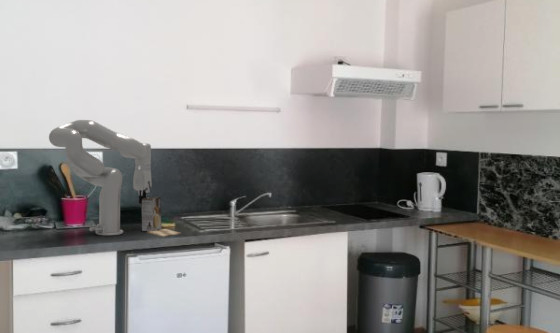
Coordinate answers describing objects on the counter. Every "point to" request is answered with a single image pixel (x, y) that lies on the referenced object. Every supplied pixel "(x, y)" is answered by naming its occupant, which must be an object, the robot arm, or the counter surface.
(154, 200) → the coffee box
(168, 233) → the open book
